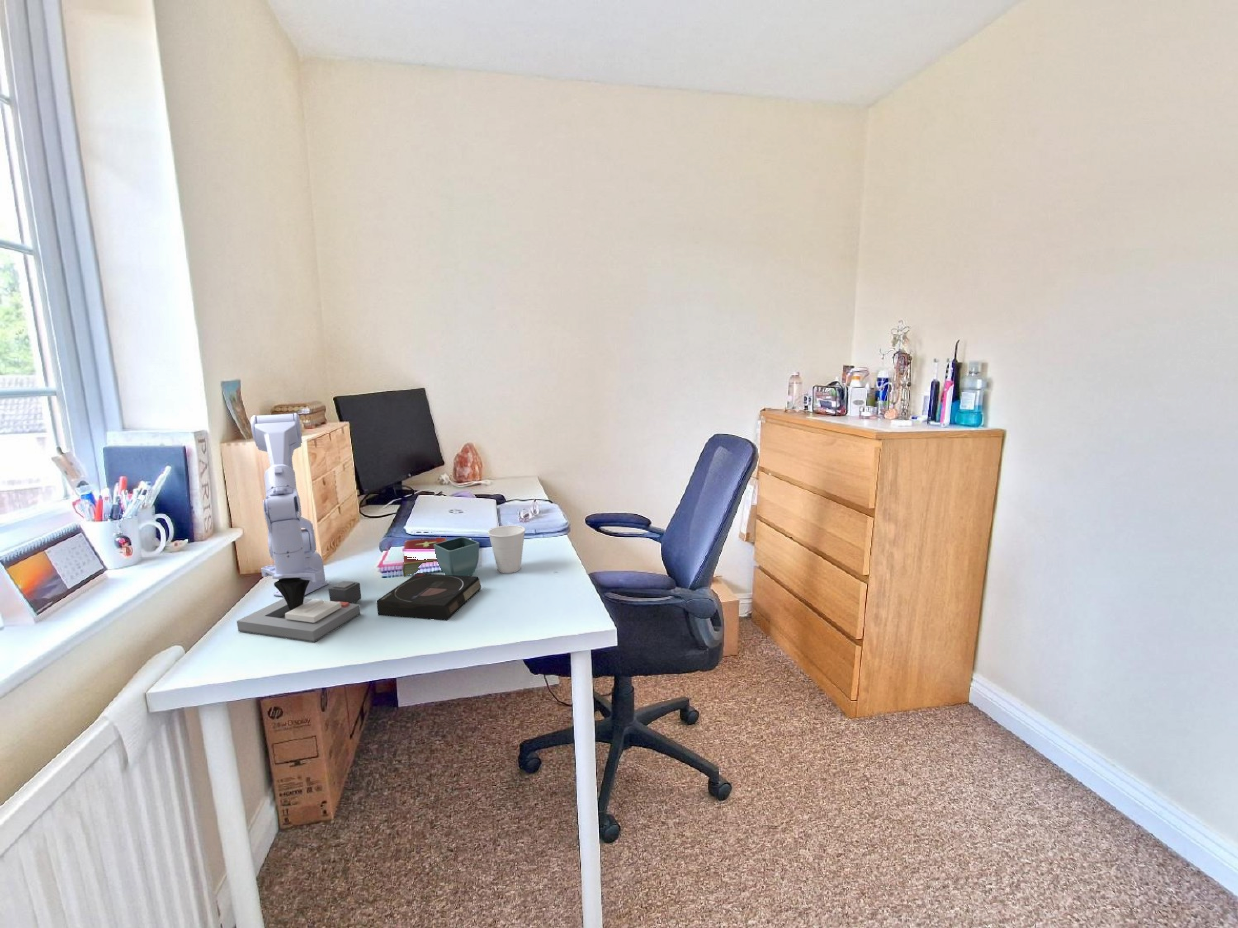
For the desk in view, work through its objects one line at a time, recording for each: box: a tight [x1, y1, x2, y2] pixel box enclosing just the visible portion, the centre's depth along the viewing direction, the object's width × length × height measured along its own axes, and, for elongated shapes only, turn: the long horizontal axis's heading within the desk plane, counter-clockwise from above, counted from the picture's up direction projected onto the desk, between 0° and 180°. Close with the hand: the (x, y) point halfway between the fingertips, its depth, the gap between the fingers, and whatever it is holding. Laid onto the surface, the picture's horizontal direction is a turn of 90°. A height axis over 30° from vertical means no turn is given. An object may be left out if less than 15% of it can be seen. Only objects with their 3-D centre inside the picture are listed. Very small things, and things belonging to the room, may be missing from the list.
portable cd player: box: [376, 573, 482, 621], centre depth 130 cm, size 16×17×4 cm
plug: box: [328, 580, 362, 604], centre depth 129 cm, size 5×5×5 cm
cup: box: [487, 524, 527, 574], centre depth 148 cm, size 10×10×11 cm
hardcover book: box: [402, 537, 447, 578], centre depth 158 cm, size 12×21×4 cm, turn 20°
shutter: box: [285, 598, 341, 623], centre depth 119 cm, size 8×8×2 cm
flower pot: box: [434, 536, 480, 576], centre depth 145 cm, size 9×9×9 cm
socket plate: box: [236, 597, 362, 643], centre depth 121 cm, size 13×20×3 cm, turn 74°
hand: (296, 609), depth 121 cm, fingers closed
